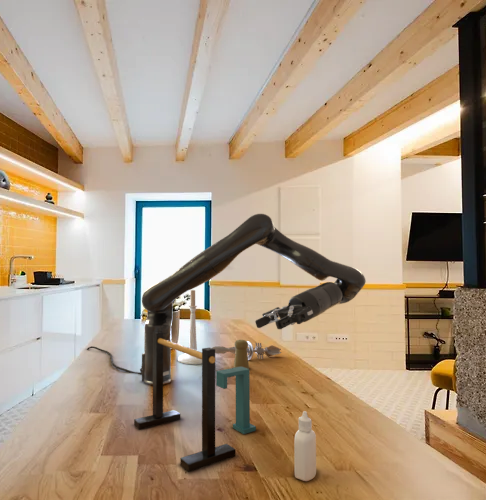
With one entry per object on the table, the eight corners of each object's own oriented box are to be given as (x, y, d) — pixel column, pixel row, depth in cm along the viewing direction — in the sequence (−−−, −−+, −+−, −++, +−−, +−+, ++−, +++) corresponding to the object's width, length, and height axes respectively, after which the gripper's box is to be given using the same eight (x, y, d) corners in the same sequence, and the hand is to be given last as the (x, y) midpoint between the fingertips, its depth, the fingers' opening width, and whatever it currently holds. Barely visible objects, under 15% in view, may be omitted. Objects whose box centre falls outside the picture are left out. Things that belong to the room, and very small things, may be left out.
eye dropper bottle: (286, 471, 74) (285, 409, 74) (309, 466, 76) (309, 405, 76) (301, 483, 70) (300, 418, 70) (325, 477, 72) (324, 414, 72)
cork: (249, 371, 143) (249, 342, 143) (233, 370, 144) (233, 341, 145) (249, 366, 149) (249, 338, 149) (233, 366, 150) (233, 338, 151)
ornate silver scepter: (205, 341, 158) (215, 337, 152) (273, 344, 172) (284, 340, 165) (207, 361, 155) (217, 358, 148) (276, 361, 168) (287, 358, 162)
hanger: (244, 424, 95) (244, 364, 96) (256, 430, 92) (255, 368, 93) (215, 433, 91) (214, 370, 91) (225, 439, 87) (225, 374, 88)
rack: (174, 415, 101) (174, 329, 102) (235, 456, 80) (235, 347, 80) (134, 425, 95) (134, 333, 96) (188, 472, 73) (188, 353, 74)
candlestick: (171, 361, 157) (172, 289, 158) (188, 355, 168) (188, 287, 169) (198, 365, 150) (198, 290, 151) (213, 359, 161) (213, 289, 162)
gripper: (288, 292, 112) (246, 311, 105) (324, 289, 99) (279, 311, 92) (296, 316, 112) (254, 337, 105) (334, 316, 99) (289, 340, 92)
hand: (266, 325), depth 99 cm, fingers open, 8 cm apart
